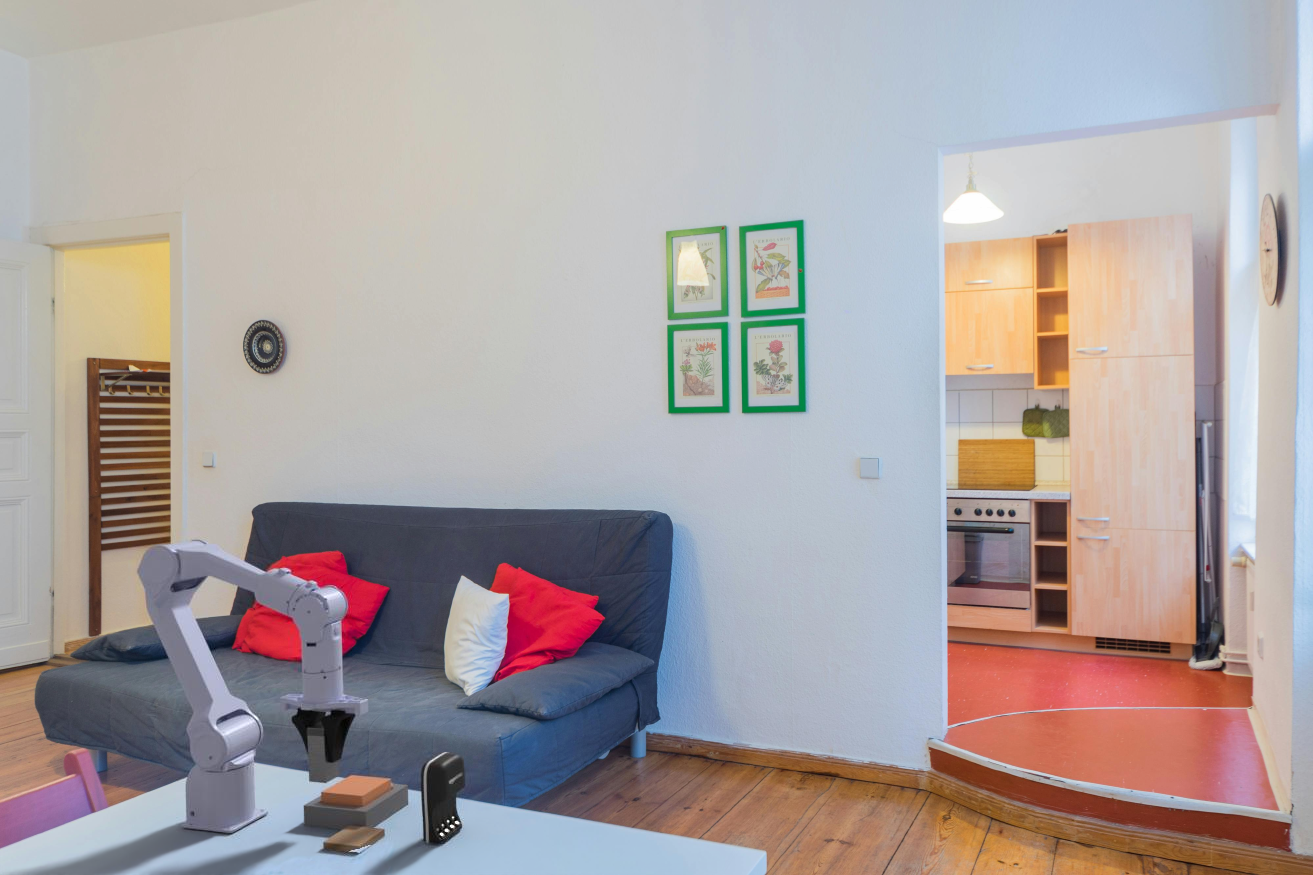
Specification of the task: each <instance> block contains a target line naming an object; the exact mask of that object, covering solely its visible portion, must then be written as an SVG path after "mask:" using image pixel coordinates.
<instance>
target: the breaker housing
mask: <svg viewBox="0 0 1313 875" xmlns="http://www.w3.org/2000/svg"><path fill="white" fill-rule="evenodd" d="M408 805H409V785H408V784H402V783H401V784H400V783H393V782H391V790H390V791H388V792H386V793H385V794H383V795H382V796H380V797H378V798H377V799H375V800H374V801H372V802H370V803H369V804H367V805H366V806H364V807H358V806H348V805H339V804H329V803H321V795H319V796H318V797H316V798H314V799H313V800H310V801H308V802H307V803H305V804H304V805H303V825H304V826H306V827H314V828H315V827H317V828H324V829H325V828H326V829H335V830H343V829H344V828H346V827H348V826H349V825H353V826H362V827H371V828H376V826H378V825H379V824H381V823H382V822H383V821H385V820H387V819H388V818H390V817H391V816H393V815H394V814H396V813H397V812H398V811H400V810H402V809H403V808H404V807H406V806H408Z"/></svg>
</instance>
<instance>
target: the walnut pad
mask: <svg viewBox="0 0 1313 875" xmlns="http://www.w3.org/2000/svg"><path fill="white" fill-rule="evenodd" d="M385 831H386V830H385V828H380V827H379V828H378V827H373V828H371V827H362V826H353V825H349V826H348V827H346V828H344V829H343V830H342V829H340V831H338V832H336V833H335V834H333V835H332V836H330V837H329V838H328V839H326V840H324V841H323V842H322V846H323V847H322V848H323V850H328V851H335V852H343V853H344V852H345V853H350V852H349V851H351V850H355V849H360V848H362V847H365V846H368V845H371V846H372V845H373V844H375V843H377V842H378V841H380V840H381V839H383V838H384V837H385V836H386V835H385V834H386V833H385Z"/></svg>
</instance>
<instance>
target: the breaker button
mask: <svg viewBox="0 0 1313 875" xmlns="http://www.w3.org/2000/svg"><path fill="white" fill-rule="evenodd" d="M391 783H392V778H385V777H374V776H366V775H365V776H364V775H356V774H355V775H353V774H351V775H349V776H347V777H346V778H343V779H342V780H340V781H337V783H335V784H332V785H331V786H330V787H327V788H326V789H324V790H322V791H321V792H320V794H321V795H320V796H321V803H329V804H339V805H348V806H358V807H364V806H366V805H367V804H369V803H370V802H372V801H374V800H375V799H377V798H378V797H380V796H382V795H383V794H385V793H386V792H388V791H390V790H391Z"/></svg>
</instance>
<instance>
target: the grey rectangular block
mask: <svg viewBox="0 0 1313 875" xmlns="http://www.w3.org/2000/svg"><path fill="white" fill-rule="evenodd" d="M307 736H308V754H307V760H308V762H307V763H308V781H309V783H311V782H312V783H319V784H320V783H322V784H328V783H329V782H331V781H332V780H334V779H336V778H338V777H340V771H339V770H340V767H339V766H340V764H339V761H340V760H338V761H336V762H334V763H329V760H328V753H327V740H326V735H325V731H324V728H323V725H322V722H319V723H317V724H314V725H312V726H310V727H308V728H307Z"/></svg>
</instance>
